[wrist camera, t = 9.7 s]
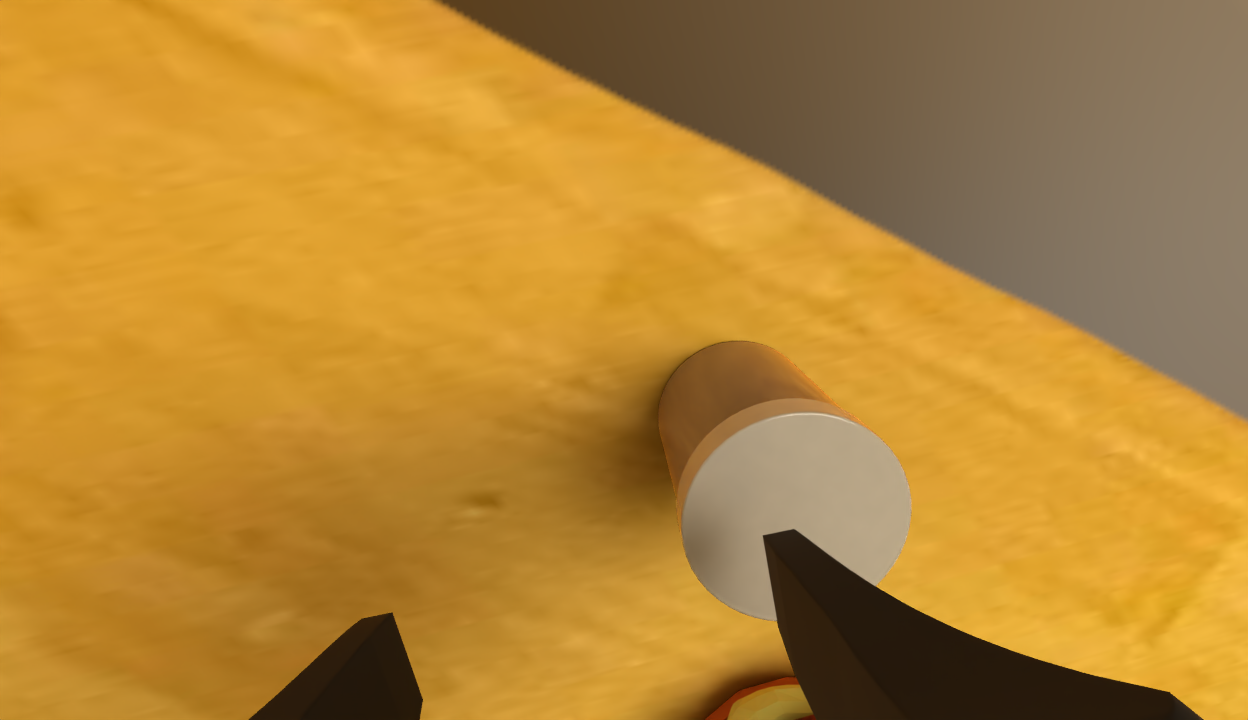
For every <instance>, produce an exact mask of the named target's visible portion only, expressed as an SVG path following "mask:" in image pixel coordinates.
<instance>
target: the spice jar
mask: <svg viewBox="0 0 1248 720" xmlns="http://www.w3.org/2000/svg"><path fill="white" fill-rule="evenodd" d="M658 425H659V432H660V436H661V440H662V444H663V448H664V452H665V456H666V460H667V464H668V468H669V472H670V476H671V480H672V484H673V488H674V492H675V496H676V500H677V508H676V512H677V520H678V526H679V530H680V534H681V539H682V543H683V547H684V550H685V554H686V557H687V559H688V562H689V564H690V566H691V569H692V570H693V572H694V573H695V575H696V577H697V578H698V580H699V581H700V582H701V583H702V584H703V586H704V587H705V588H706V589H707V590H708V591H709V592H710V593H711V594H712V595H713V596H715V597H716V598H717V599H718V600H720V601H721V602H723V603H724V604H726V605H727V606H729V607H730V608H732V609H734V610H736V611H738V612H740V613H743V614H746V615H749V616H752V617H755V618H759V619H764V620H770V621H777V617H776V611H775V605H774V600H773V594H772V588H771V582H770V576H769V570H768V565H767V559H766V553H765V547H764V541H763V535H767V534H772V533H777V532H781V531H786V530H791V529H795V530H797V531H798V532H800V533H801V534H802V535H804V536H805V537H806V538H808V539H809V540H810V541H812V542H813V543H814V544H816V545H817V546H818V547H820V548H821V549H822V550H824V551H825V552H826V553H828V554H829V555H830V556H832V557H833V558H834V559H836V560H837V561H839V562H840V563H841V564H843V565H844V566H846V567H847V568H848V569H850V570H851V571H853V572H854V573H856V574H857V575H859V576H860V577H862V578H863V579H865V580H866V581H868V582H869V583H871V584H872V585H874V586H876V585H877V584H878V583H879V582H880V581H881V580H882V579H883V578H884V577H885V576H886V574H887V573H888V572H889V570H890V569H891V568H892V566H893V565H894V563H895V562H896V560H897V558H898V556H899V555H900V553H901V551H902V548H903V546H904V544H905V541H906V538H907V534H908V531H909V527H910V519H911V495H910V489H909V484H908V481H907V478H906V475H905V472H904V470H903V468H902V466H901V464H900V462H899V460H898V459H897V457H896V456H895V454H894V453H893V451H892V450H891V449H890V448H889V447H888V445H887V444H886V443H885V442H884V441H883V440H882V439H881V438H880V437H879V436H878V435H876V434H875V433H874V432H873V431H872V430H871V429H870V428H869V427H868V426H867V425H865V424H864V423H863V422H862V421H860V420H859V419H858V418H857V417H855V416H854V415H852V414H850V413H849V412H847V411H845V410H843V409H842V408H841V407H840V406H839V405H837V404H836V403H835V402H834V401H833V400H832V399H831V398H830V397H829V396H828V395H827V394H826V393H825V392H824V391H822V390H821V389H820V388H819V387H818V386H817V385H816V384H815V383H814V382H813V381H812V380H811V379H810V378H808V377H807V376H806V375H805V374H804V373H803V372H802V371H801V370H800V369H799V368H798V367H797V366H796V365H795V364H793V363H792V362H791V361H790V360H789V359H788V358H787V357H785V356H784V355H783V354H781V353H780V352H778V351H776V350H774V349H773V348H770V347H768V346H765V345H762V344H758V343H754V342H747V341H731V342H724V343H720V344H716V345H713V346H710V347H708V348H705V349H703V350H701V351H699V352H698V353H696V354H694V355H693V356H691V357H690V358H689V359H687V360H686V361H685V362H684V363H683V364H682V365H681V366H680V367H679V368H678V369H677V370H676V371H675V372H674V374H673V375H672V376H671V378H670V379H669V381H668V383H667V384H666V387H665V389H664V391H663V393H662V397H661V400H660V404H659V411H658Z"/></svg>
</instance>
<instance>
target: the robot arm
mask: <svg viewBox="0 0 1248 720" xmlns="http://www.w3.org/2000/svg"><path fill="white" fill-rule="evenodd" d="M763 541H764V547H765V553H766V559H767V565H768V570H769V576H770V582H771V588H772V594H773V600H774V605H775V611H776V617H777V623H778V628H779V631H780V634H781V636H782V639H783V642H784V645H785V648H786V651H787V654H788V657H789V660H790V662H791V665H792V668H793V671H794V674H795V676H796V678H797V681H798V683H799V685H800V687H801V689H802V691H803V693H804V695H805V697H806V699H807V701H808V704H809V706H810V708H811V710H812V712H813V714H814V716H815V718H816V720H1203V719H1202V718H1201V717H1200V716H1198V715H1197V714H1196V713H1195V712H1193V711H1192V710H1191V709H1190V708H1188V707H1187V706H1186V705H1185V704H1183V703H1182V702H1181V701H1180V700H1178V699H1177V698H1176V697H1175V696H1173V695H1172V694H1171V693H1170V692H1166V691H1162V690H1157V689H1153V688H1148V687H1143V686H1139V685H1134V684H1130V683H1125V682H1121V681H1116V680H1112V679H1107V678H1103V677H1098V676H1094V675H1090V674H1086V673H1082V672H1079V671H1075V670H1072V669H1068V668H1065V667H1062V666H1058V665H1055V664H1051V663H1048V662H1044V661H1041V660H1038V659H1035V658H1032V657H1029V656H1026V655H1023V654H1020V653H1017V652H1014V651H1011V650H1008V649H1006V648H1003V647H1000V646H998V645H995V644H992V643H990V642H987V641H985V640H982V639H979V638H977V637H974V636H972V635H969V634H967V633H965V632H962V631H960V630H958V629H955V628H953V627H951V626H949V625H947V624H945V623H943V622H940V621H938V620H936V619H934V618H932V617H930V616H928V615H926V614H924V613H922V612H920V611H918V610H916V609H914V608H912V607H910V606H908V605H906V604H905V603H903V602H901V601H899V600H898V599H896V598H894V597H892V596H891V595H889V594H887V593H886V592H884V591H882V590H880V589H879V588H877V587H876V586H874V585H872V584H871V583H869V582H868V581H866V580H865V579H863V578H862V577H860V576H859V575H857V574H856V573H854V572H853V571H851V570H850V569H848V568H847V567H846V566H844V565H843V564H841V563H840V562H839V561H837V560H836V559H834V558H833V557H832V556H830V555H829V554H828V553H826V552H825V551H824V550H822V549H821V548H820V547H818V546H817V545H816V544H814V543H813V542H812V541H810V540H809V539H808V538H806V537H805V536H804V535H802V534H801V533H800V532H798V531H797V530H795V529H791V530H786V531H781V532H777V533H772V534H767V535H763ZM422 702H423V699H422V696H421V693H420V690H419V687H418V684H417V682H416V679H415V676H414V673H413V670H412V667H411V664H410V662H409V659H408V656H407V653H406V650H405V647H404V644H403V642H402V639H401V636H400V633H399V630H398V627H397V624H396V622H395V619H394V616H393V613H387V614H382V615H377V616H373V617H368V618H363V619H361V620H359V621H358V622H357V623H355V624H354V625H353V626H352V627H350V628H349V629H348V630H347V631H346V632H345V633H343V634H342V635H341V636H340V637H339V638H338V639H337V640H336V641H335V642H333V643H332V644H331V645H330V646H329V647H328V648H327V649H326V650H325V651H324V652H323V653H322V654H320V655H319V656H318V657H317V658H316V659H315V660H314V661H313V662H312V663H311V664H310V665H309V666H308V667H307V668H305V669H304V670H303V671H302V672H301V673H300V674H299V675H298V676H297V677H296V678H295V679H294V680H293V681H291V682H290V683H289V684H288V685H287V686H286V687H285V688H284V689H283V690H282V691H281V692H280V693H278V694H277V695H276V696H275V697H274V698H273V699H272V700H271V701H269V702H268V703H267V704H266V705H265V706H264V707H263V708H261V709H260V710H259V711H258V712H257V713H256V714H255V715H253V716H252V717H251V718H250V719H249V720H420V714H421V708H422Z"/></svg>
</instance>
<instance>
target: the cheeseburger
mask: <svg viewBox="0 0 1248 720" xmlns="http://www.w3.org/2000/svg"><path fill="white" fill-rule="evenodd" d="M705 720H816V718H815V716H814V714H813V712H812V710H811V708H810V706H809V704H808V701H807V699H806V697H805V695H804V693H803V691H802V689H801V687H800V685H799V683H798V681H797V678H796V677H785V678H781V679H778V680H774V681H771V682H767V683H764V684H760V685H757V686H753V687H750V688H746V689H743V690H739V691H738V692H737V693H736V694H735V695H733V696H732V697H731V698H730V699H729V700H727V701H726V702H725V703H724V704H723V705H721V706H720V707H719V708H718V709H717V710H716V711H714V712H713V713H712V714H711V715H710V716H708V717H707V718H706V719H705Z"/></svg>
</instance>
